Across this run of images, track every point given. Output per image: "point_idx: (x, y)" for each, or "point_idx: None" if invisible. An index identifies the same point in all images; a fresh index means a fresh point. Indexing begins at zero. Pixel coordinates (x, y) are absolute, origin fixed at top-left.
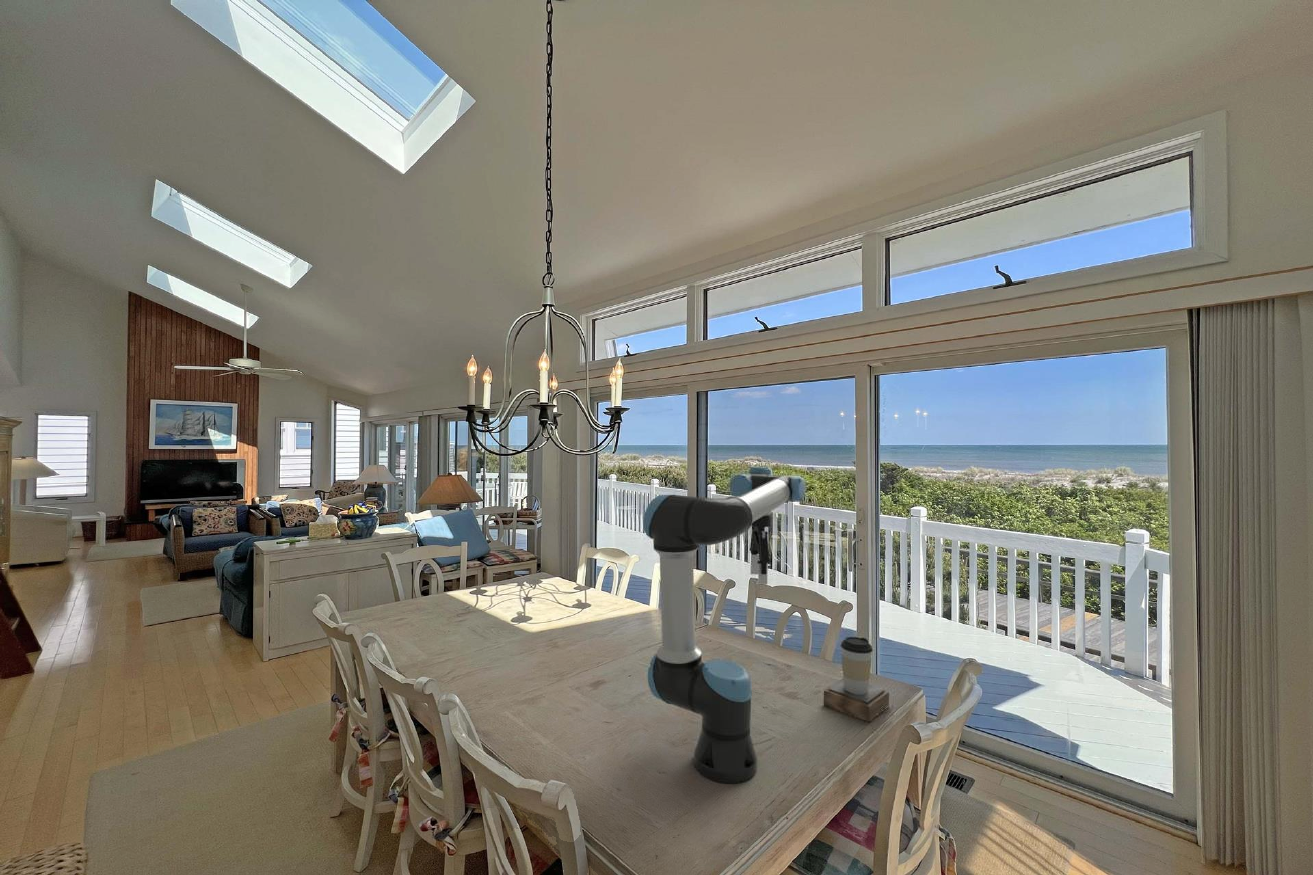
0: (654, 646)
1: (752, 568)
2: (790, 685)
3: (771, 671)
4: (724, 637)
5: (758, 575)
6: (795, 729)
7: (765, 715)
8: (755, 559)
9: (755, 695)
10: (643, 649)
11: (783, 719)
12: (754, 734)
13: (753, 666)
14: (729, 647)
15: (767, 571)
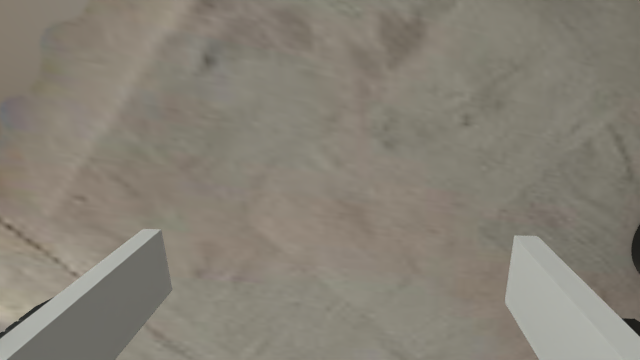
0: (153, 324)
1: (143, 309)
2: (341, 25)
3: (255, 62)
4: (43, 157)
5: (542, 356)
6: (583, 68)
7: (508, 127)
8: (70, 354)
9: (404, 132)
10: (177, 345)
11: (531, 87)
12: (591, 167)
13: (229, 108)
14: (113, 153)
15: (613, 312)
